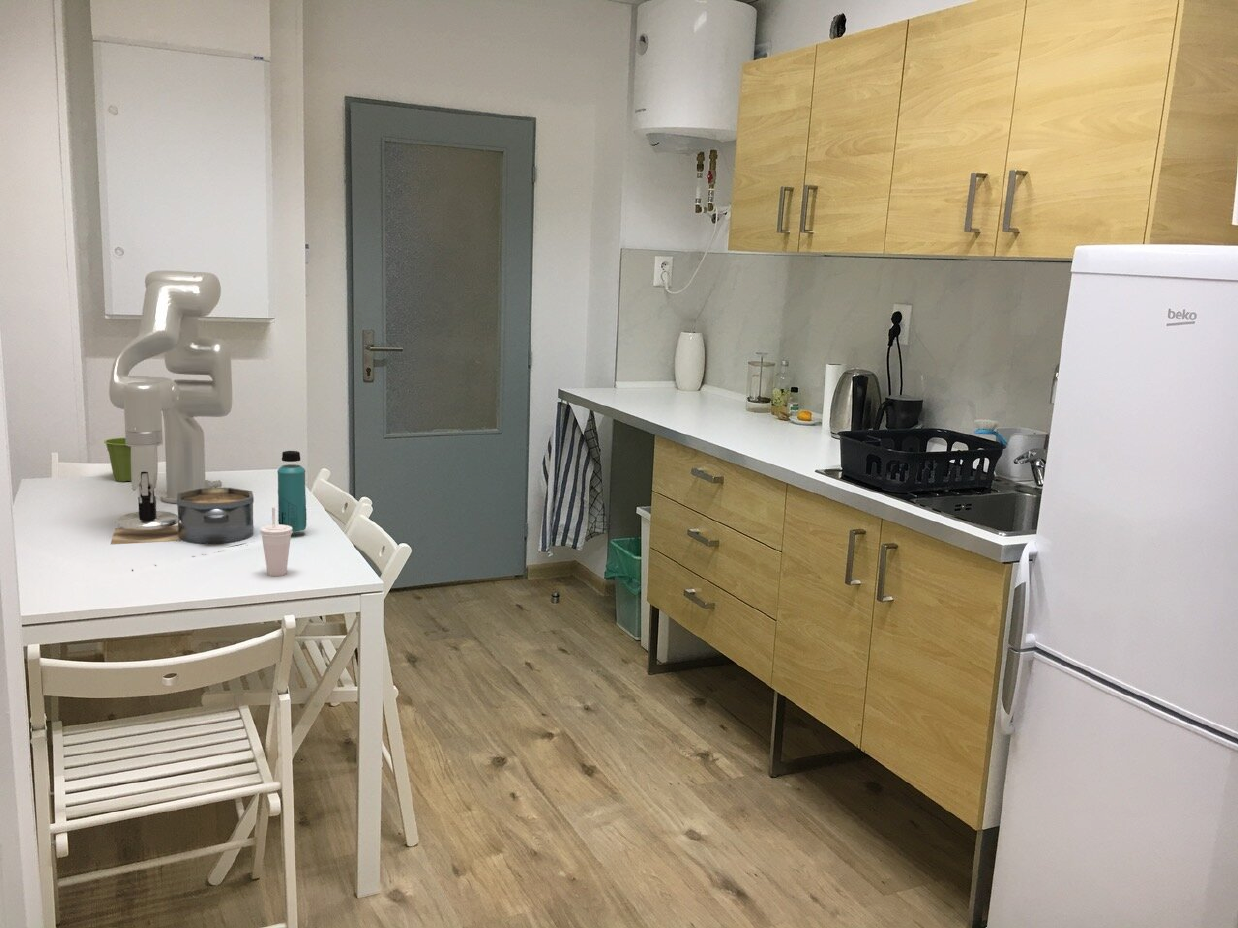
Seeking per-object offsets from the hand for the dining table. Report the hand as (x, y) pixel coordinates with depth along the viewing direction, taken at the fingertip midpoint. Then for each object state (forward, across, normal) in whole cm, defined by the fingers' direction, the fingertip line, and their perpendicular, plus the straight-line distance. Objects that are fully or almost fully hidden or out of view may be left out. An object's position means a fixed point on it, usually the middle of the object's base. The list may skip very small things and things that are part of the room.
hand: (147, 516), depth 230 cm
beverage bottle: (+5, +4, +31) cm, 32 cm away
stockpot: (+5, +4, +14) cm, 16 cm away
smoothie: (+4, +34, +26) cm, 43 cm away
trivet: (+5, +1, 0) cm, 5 cm away
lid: (+1, 0, 0) cm, 1 cm away
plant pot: (+7, -66, -8) cm, 66 cm away
